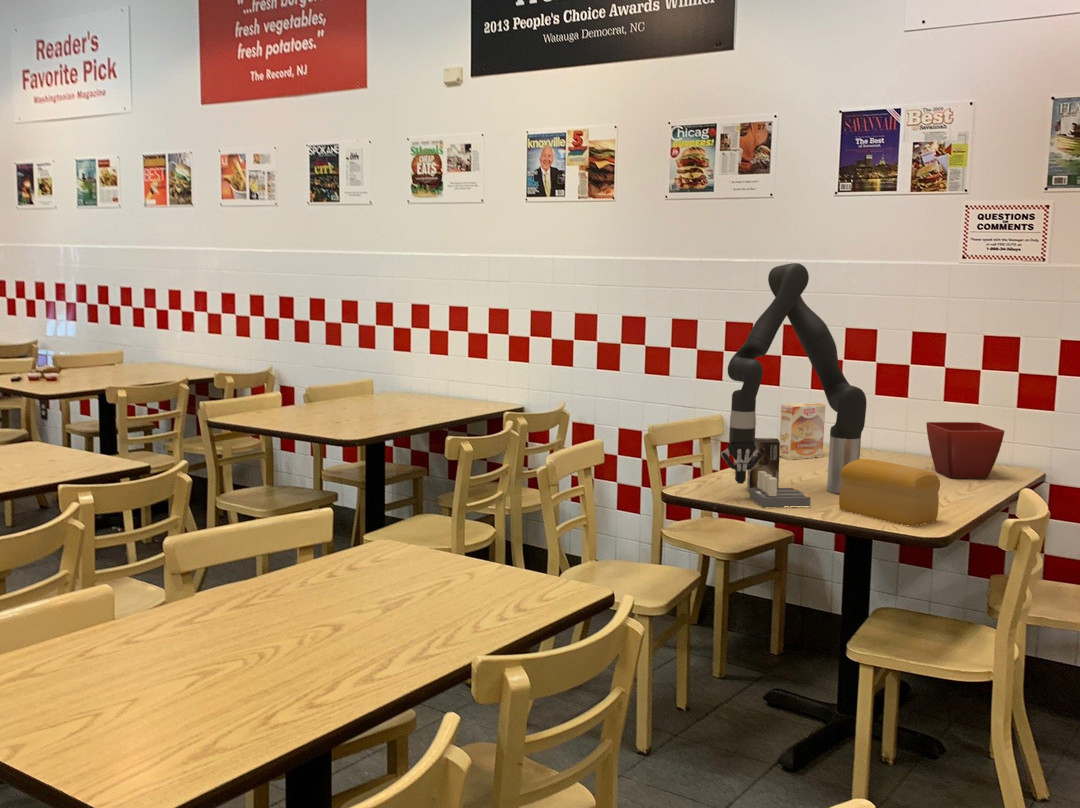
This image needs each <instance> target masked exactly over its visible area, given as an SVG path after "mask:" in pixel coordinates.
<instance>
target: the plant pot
mask: <svg viewBox="0 0 1080 808" xmlns="http://www.w3.org/2000/svg"><path fill="white" fill-rule="evenodd" d="M926 432H927V433H926V434H927V439H928V440H927V441H928V447H929V450H930V454H931V455H930V456H931V459H932V462H933V466H934V468H935V472H937V473H939V474H941V475H943V476H945V477H948V478H950V479H984V480H985V479H988V478H989V476H990V474H991V472H992V470H993V468H994V466H995V463H996V461H997V459H998V457H999V453H1000V450H1001V447H1002V443H1003V441H1004V440H1003V439H1004V436H1005V432H1006V431H1005V430H1003V429H1000V428H997V427H994V426H991V425H989V424H985V423H982V422H979V421H978V422H977V421H975V422H974V421H973V422H972V421H971V422H968V421H967V422H965V421H964V422H962V421H945V422H944V421H927V422H926Z"/></svg>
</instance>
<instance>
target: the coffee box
mask: <svg viewBox="0 0 1080 808" xmlns="http://www.w3.org/2000/svg"><path fill="white" fill-rule="evenodd" d="M779 440H780V439H778V438H771V437H769V438H768V437H766V438H765V437H755V446H756V449H757V450H758V451H759V452H761V453H762V454H763V456H762V457H761V458H760V459H759V461H758V462H757V463H756V464H755V465H754V467H753V468H752V469H749V470H747V476H746V478H747V479H746V480H747V481H746V483H747V484H746V489H747V488H748V489H747V492H748V491H750V488H757V482H758V471H765V472H767V474H770V475H771V476H772V477H775V478H776V479H777V488H779V483H780V482H779V481H780V480H779V477H780V457H779V454H780V442H779ZM752 457H753V454H752V455H751V457H750V458H749V459H748V462H749V461H750V460H751V458H752Z"/></svg>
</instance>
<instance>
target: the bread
mask: <svg viewBox="0 0 1080 808" xmlns="http://www.w3.org/2000/svg"><path fill="white" fill-rule="evenodd" d="M840 478H841V481H842V482H841V486H840V493H839V494H838V495H839V496H838V505H839V510H840V509H842V510H841V511H843V510H845V511H844V512H846V511H848V512H847V513H850V512H852V513H851V514H855V513H857V514H856V515H859V514H861V515H860V516H863V515H865V516H864V517H867V516H868V518H871V517H873V518H872V519H875V518H877V519H876V520H879V519H881V520H880V521H883V520H885V522H888V521H890V522H889V523H892V522H894V523H893V524H896V523H898V524H897V525H900V524H903V525H902V526H904V525H909V526H916V525H920V524H924V523H928V522H932V521H937V519H938V514H939V504H940V503H939V502H940V501H939V500H940V498H939V497H940V495H939V491H940V488H941V480H940V478H939V476H938V475H936V473H934V472H932V471H931V470H927V469H923V468H919V467H914V466H910V465H909V466H908V465H904V464H898V463H893V462H888V461H884V460H883V461H882V460H877V459H871V458H860V459H858V460H854V461H852V462H850V463H848V464H847V465H845V466H844V467H843V468H842V470H841V474H840ZM932 523H933V522H932ZM928 524H929V523H928ZM924 525H925V524H924ZM909 526H908V527H909ZM920 526H921V525H920ZM916 527H917V526H916Z"/></svg>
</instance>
